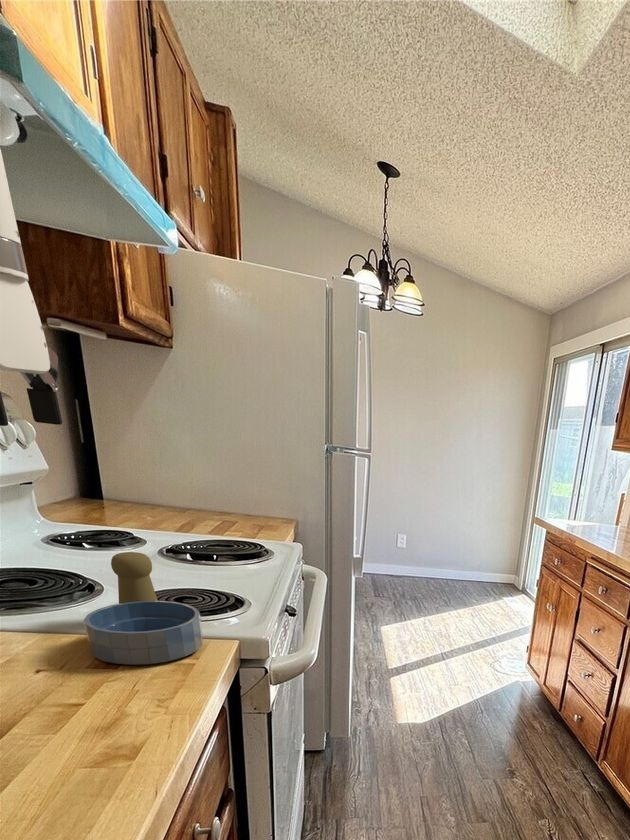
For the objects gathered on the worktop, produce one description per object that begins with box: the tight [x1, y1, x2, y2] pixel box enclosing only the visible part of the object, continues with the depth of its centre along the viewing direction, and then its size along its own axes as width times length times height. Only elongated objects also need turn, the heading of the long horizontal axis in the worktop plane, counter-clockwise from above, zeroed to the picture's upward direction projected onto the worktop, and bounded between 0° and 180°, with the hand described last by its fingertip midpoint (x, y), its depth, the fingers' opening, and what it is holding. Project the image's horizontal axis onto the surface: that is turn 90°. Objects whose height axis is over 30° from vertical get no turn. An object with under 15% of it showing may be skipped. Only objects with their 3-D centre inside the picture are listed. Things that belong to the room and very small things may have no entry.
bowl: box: [83, 600, 204, 666], centre depth 79 cm, size 14×14×5 cm
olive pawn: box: [110, 551, 159, 604], centre depth 86 cm, size 6×6×11 cm
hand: (22, 423), depth 69 cm, fingers open, 9 cm apart
